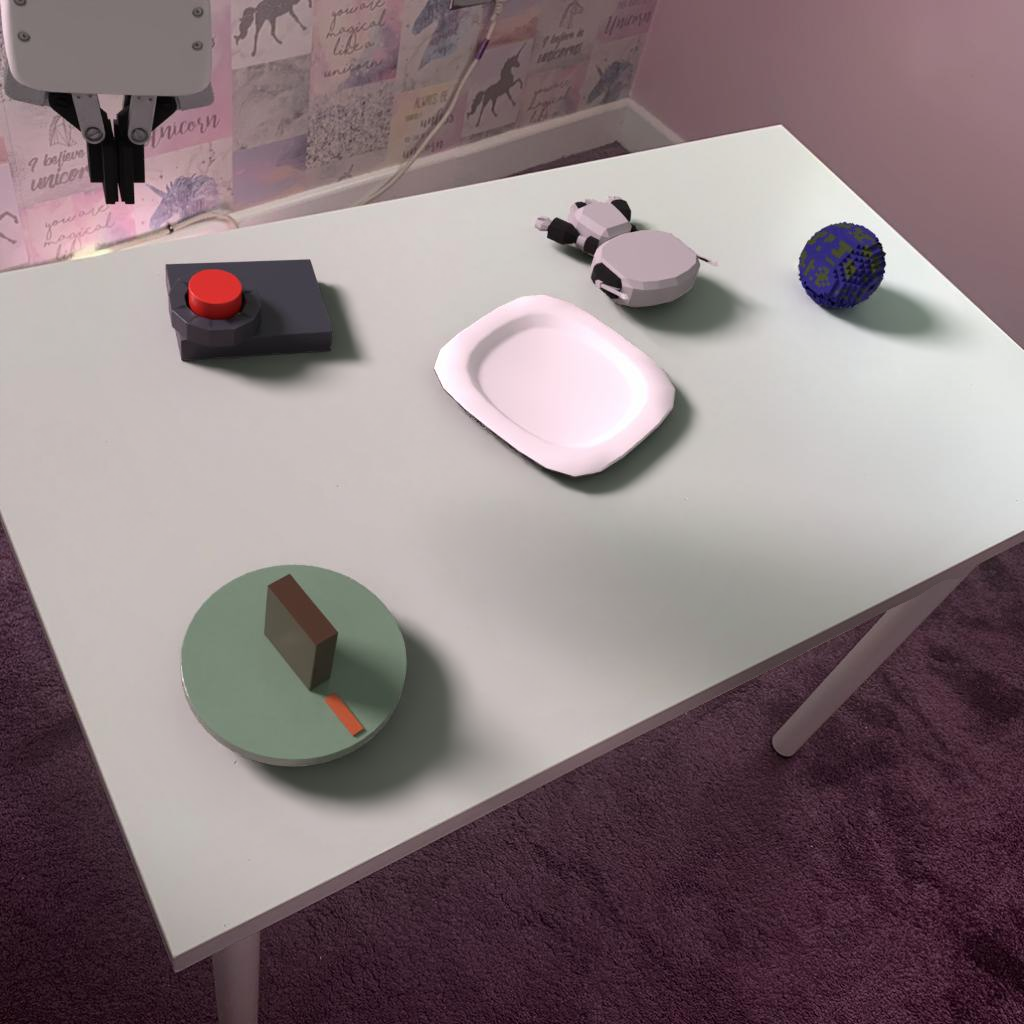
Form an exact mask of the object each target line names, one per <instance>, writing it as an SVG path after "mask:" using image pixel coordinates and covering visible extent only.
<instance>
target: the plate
mask: <svg viewBox="0 0 1024 1024" xmlns="http://www.w3.org/2000/svg"><path fill="white" fill-rule="evenodd" d="M437 355H438V356H437V359H436V361H435V364H434V367H433V371H434V373H435V375H436V377H437V379H438V381H439V384H440V386H441V387H442V389H443V391H444V392H445V394H447V395H448V396H449V397H451V399H452V400H453V401H454V402H455V403H456V404H457V405H458V406H460V407H461V409H462V410H464V412H466V413H467V414H468V415H470V416H471V417H472V418H474V419H475V421H477V422H478V423H480V424H481V425H482V426H484V427H485V428H486V429H487V430H489V431H490V432H491V433H492V434H494V435H495V436H496V437H498V438H499V439H500V440H501V441H503V442H504V443H506V444H507V445H508V446H510V447H511V448H512V449H513V450H515V451H516V452H518V453H520V454H521V455H522V456H524V457H526V458H527V459H528V460H530V461H532V462H533V463H535V464H536V465H538V466H540V467H541V468H543V469H544V470H547V471H549V472H554V473H557V474H560V475H564V476H566V477H570V478H572V479H573V478H580V477H585V476H591V475H597V474H600V473H603V471H605V470H607V469H609V468H610V467H611V466H612V467H613V465H615V464H616V463H619V461H621V460H622V459H624V458H625V457H626V456H627V455H629V454H630V453H631V452H632V451H633V450H634V449H635V448H637V447H638V446H639V445H641V443H642V442H643V441H645V440H646V439H647V438H648V437H649V436H650V435H651V434H652V433H653V432H655V430H657V429H658V428H659V427H660V425H662V423H663V421H664V420H665V419H666V418H667V417H668V415H669V414H670V413H671V412H672V411H673V409H674V404H675V396H676V388H675V387H674V384H672V382H671V380H670V378H669V377H668V374H666V372H665V370H664V369H663V368H661V367H660V366H659V365H658V364H657V363H656V362H655V361H654V360H652V358H650V356H648V354H647V355H646V353H644V351H642V350H641V349H640V348H638V347H637V346H636V345H634V344H633V343H631V342H630V341H628V339H626V338H624V337H623V336H622V335H621V334H619V333H618V332H616V331H615V330H614V329H612V328H611V327H609V326H608V325H606V324H605V323H604V322H602V321H601V320H600V319H598V318H597V317H595V316H594V315H592V314H590V313H589V312H587V311H585V310H583V309H582V308H580V307H578V306H577V305H575V304H573V303H571V302H569V301H566V300H564V299H560V298H556V297H553V296H551V295H547V294H535V295H525V296H519V297H517V298H516V299H512V300H510V301H509V302H506V303H505V304H502V305H500V306H498V307H496V308H495V309H494V310H492V311H490V312H489V313H487V314H486V315H484V316H482V317H480V318H479V319H478V320H476V321H475V322H473V323H472V324H470V325H468V326H467V327H466V328H464V329H463V330H461V331H460V332H459V333H457V334H456V335H454V337H452V338H451V339H450V340H449V341H448V342H447V343H446V344H445V345H443V347H442V348H440V350H439V353H438V354H437Z"/></svg>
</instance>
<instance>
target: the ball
mask: <svg viewBox="0 0 1024 1024" xmlns="http://www.w3.org/2000/svg"><path fill="white" fill-rule="evenodd" d="M886 255H887V252H885V251H884V246H883V243H882V242H880V239H879V237H878V236H877V235H876V234H875V233H874V231H872V230H871V229H869V228H868V227H865V225H862V224H861V225H860V224H858V223H856V224H855V223H854V222H848V221H847V222H846V221H843V222H841V221H840V222H838V223H837V222H835V223H833V224H832V223H830V224H829V225H827V226H825V227H822V228H820V230H817V231H815V232H814V234H813V235H812V236H811V237H810V238H809V239H807V241H806V243H805V244H804V247H803V249H802V250H801V252H800V254H799V257H798V265H797V268H798V272H799V273H797V276H798V281H799V282H801V286H802V288H803V289H804V290H805V294H806V295H807V296H808V297H809V298H811V299H812V300H813V301H814V302H815V303H816V304H817V305H819V306H820V305H821V306H824V307H828V308H833V309H838V310H839V309H845V308H846V309H848V308H854V307H856V306H858V305H860V304H862V303H863V302H866V301H867V300H869V298H870V297H871V296H873V294H874V293H876V291H877V290H878V288H879V287H880V285H881V283H882V281H883V280H884V279H885V277H884V276H885V274H886V269H885V268H886V266H887V262H886V257H885V256H886Z"/></svg>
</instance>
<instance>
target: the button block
mask: <svg viewBox="0 0 1024 1024" xmlns="http://www.w3.org/2000/svg"><path fill="white" fill-rule="evenodd" d="M312 263H313V262H312V260H311V259H309V258H305V259H304V258H303V259H281V260H280V259H277V260H274V259H273V260H251V261H250V260H245V261H221V262H217V261H216V262H190V263H188V262H187V263H166V264H165V266H164V268H165V270H164V271H165V286H166V291H167V292H166V293H167V301H168V302H167V303H168V314H169V319H170V323H171V327H172V328H173V329H174V330H175V331H174V332H175V334H176V335H175V337H176V340H177V346H178V350H179V356H180V360H181V361H195V360H196V361H197V360H210V359H211V360H212V359H226V358H227V359H228V358H241V357H243V358H244V357H257V356H258V357H259V356H269V355H270V356H271V355H273V356H274V355H286V354H287V355H288V354H301V353H317V352H319V353H320V352H330V351H331V350H332V343H333V336H334V330H333V327H332V324H331V321H330V318H329V314H328V311H327V308H326V305H325V301H324V299H323V295H322V291H321V289H320V286H319V282H318V279H317V276H316V273H315V269H314V267H313V264H312ZM210 269H216V270H222V271H226V272H229V273H231V274H232V275H234V276H235V277H236V278H237V279H238V280H239V281H240V283H241V285H242V306H241V309H240V311H239V312H238V313H237V314H236V315H235V316H233V317H231V318H229V319H223V320H210V319H207V318H204V317H201V316H199V315H197V314H196V313H195V312H194V311H193V310H192V309H191V307H190V305H189V281H190V279H191V278H192V277H193V276H194V275H195V274H196V273H198V272H201V271H204V270H210Z"/></svg>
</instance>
